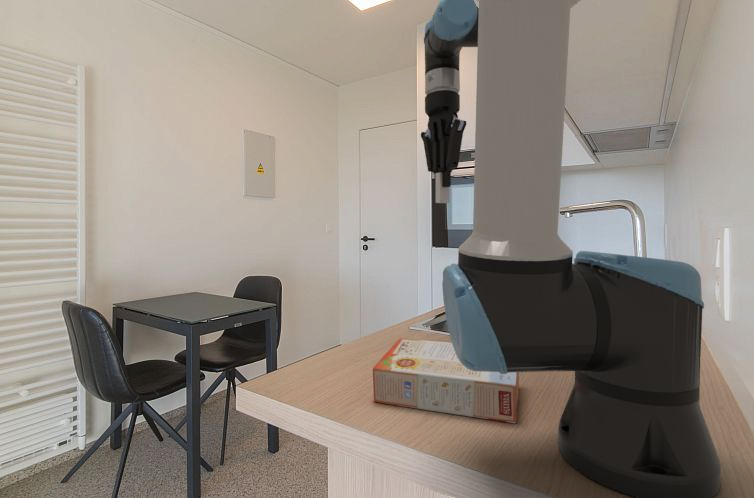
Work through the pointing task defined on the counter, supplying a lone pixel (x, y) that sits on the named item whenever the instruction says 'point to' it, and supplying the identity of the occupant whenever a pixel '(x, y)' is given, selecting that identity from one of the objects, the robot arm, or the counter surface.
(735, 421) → the counter surface
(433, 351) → the cracker box
